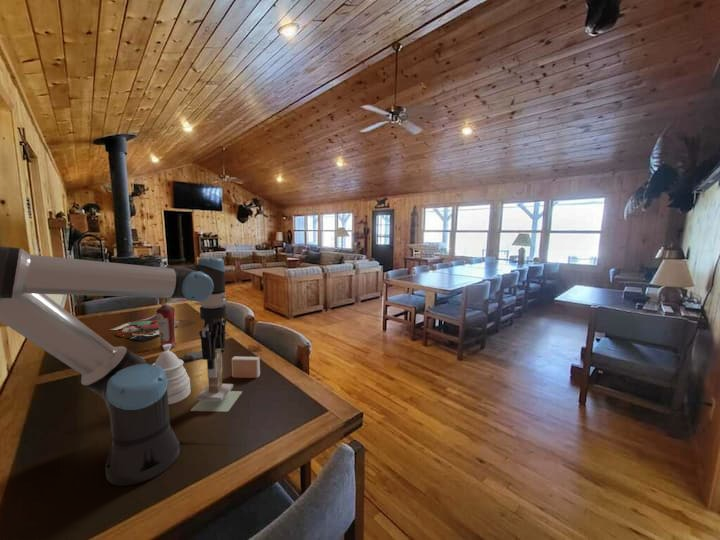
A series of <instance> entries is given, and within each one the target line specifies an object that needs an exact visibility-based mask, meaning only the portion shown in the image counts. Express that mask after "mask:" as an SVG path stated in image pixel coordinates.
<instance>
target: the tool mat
mask: <svg viewBox="0 0 720 540" xmlns="http://www.w3.org/2000/svg"><path fill="white" fill-rule="evenodd" d="M242 393H243V391H242V390H241V391H239V390H237V391H235V390H230V391H229V393H228V394H227V395H226V396H225V397H224V399H223V400H222V401H209V400H198V402H197V403H196V404H195V405H194V406H193V407H192V408H191V409H190V410H189V411H190V412H224V413H225V412H226V413H227V412H229V411H230V410H231V408H232V407H233V406H234V404H235V403H236V401H237V400H238V399H239V397H240V396H241V395H242Z"/></svg>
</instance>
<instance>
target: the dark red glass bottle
mask: <svg viewBox="0 0 720 540" xmlns="http://www.w3.org/2000/svg"><path fill="white" fill-rule="evenodd" d="M160 306H161V307H158V308H157V309H156V310H155V311H156V315H157V321H158V323H157V324H158V327H159V329H158V330H159V335H160V336H159V343H160V344H159V348H160V349H162V350H164V349H163V345H165V344H172V346H171V349H173V348H174V347H175V346H176V345H177V342H176V334H175V333H176V329H175V326H176V324H175V321H176V318H175V317H176V315H175V314H176V313H175V308H174V307H173V306H170V305H169V299H168V298H163V297H161V305H160Z"/></svg>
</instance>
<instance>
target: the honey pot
mask: <svg viewBox="0 0 720 540" xmlns="http://www.w3.org/2000/svg"><path fill="white" fill-rule="evenodd" d="M171 346H172V344H165V345H163V349H162V350H164V351H162V352H161V353H160V354H159V355H158V357H157V359H156V360H155V361H156V362H155V363H154V364H152V363H151V365H157V366H159V367H161V368H162V369H163V370H164V371H165V374H166V378H167V383H168V386H167V392H168V406H169V405H173V404H176V403H178V402H181V401H183V400H184V399H186V398H187V397H188V396H189V395H190V394H191V379H190V376H189V375H188V372H187V369H186V368H185V366H183V365H184V364H185V363H184V362H183V360H181V359H178V358H179V357H178V356H177V355H176V353H174V352H173V351H171V349H172V348H171Z"/></svg>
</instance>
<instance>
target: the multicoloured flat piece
mask: <svg viewBox="0 0 720 540" xmlns="http://www.w3.org/2000/svg"><path fill="white" fill-rule="evenodd" d="M179 321H180V320H175V327H176V328H178V324H179ZM188 321H189V320H187V319H185V322H188ZM177 323H178V324H177ZM139 327H140V328H139ZM118 329H121V330H122V331H120V332H118V331H117V332H118V333H117V332H116V333H117V334H127V333H132V335H133V336H134V337H132V338H130V339H131V340H136V341H140V342H146V341H149V340H151V339H155V338H158V337H160V335H159V327H158V321H157V314H155V315H152V316H150V317H147V318H143V319H138V320H134V321H129V322H127V323H123V324H121V325H118V326H116V327H114V328H111V329H110V330H118ZM149 334H153V335H149ZM123 336H124V335H123ZM130 339H129V340H130Z"/></svg>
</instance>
